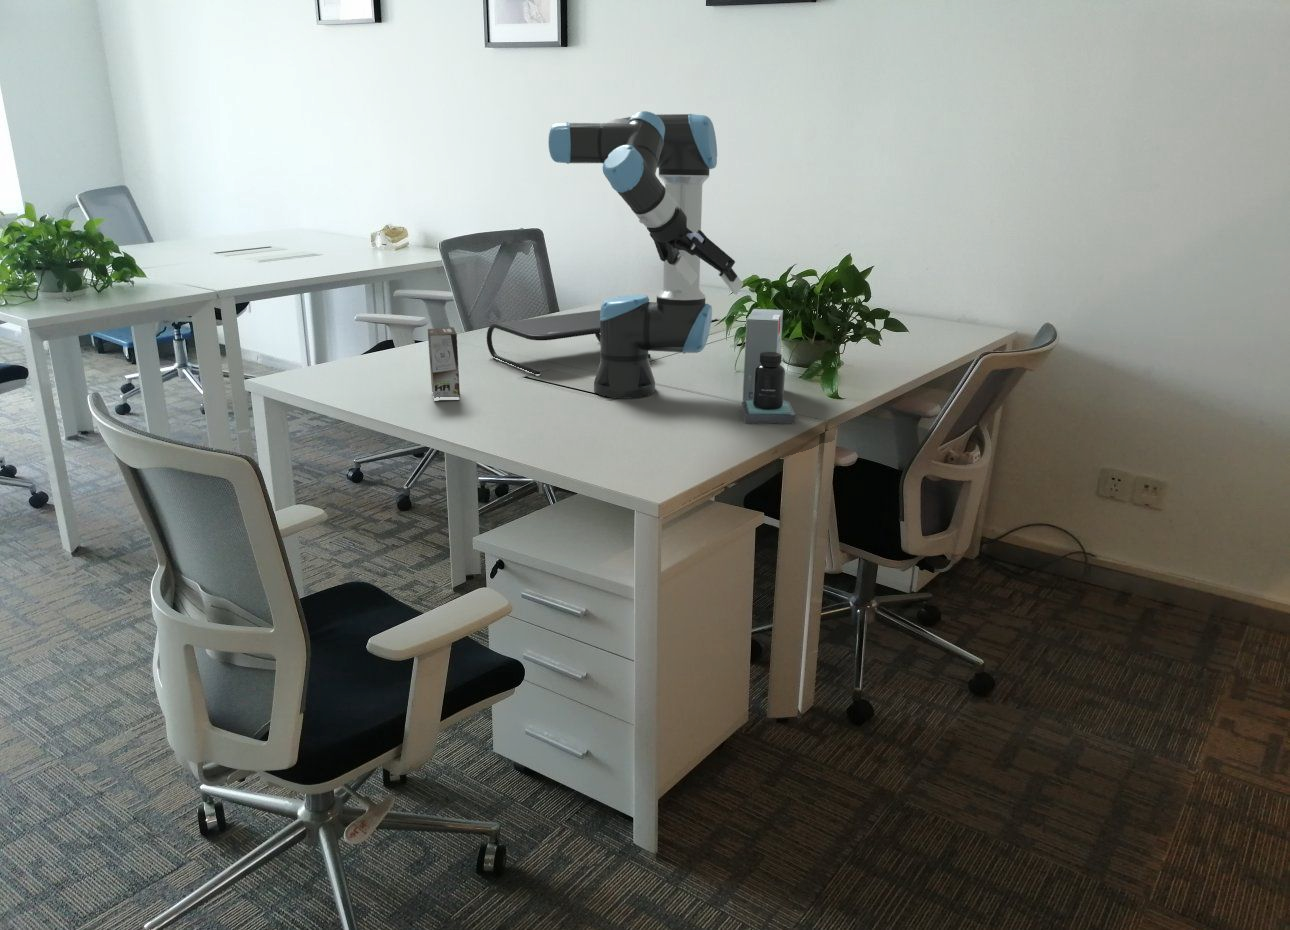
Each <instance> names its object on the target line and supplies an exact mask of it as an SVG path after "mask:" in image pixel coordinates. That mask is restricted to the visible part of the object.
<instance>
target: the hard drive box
mask: <svg viewBox="0 0 1290 930" xmlns="http://www.w3.org/2000/svg"><path fill="white" fill-rule="evenodd" d="M783 315H784V309H768V308H767V309H766V308H763V309H762V308H753V309H752V310H751V312H750V314H749V315H748V317H747V318H746V323H745V324H746V326H745V340H744V341H745V342H744V343H745V344H744V345H745V346H744V363H743V364H744V365H743V381H742V382H743V384H742V402H746V401H753V388H754V371H755V368H756V366H757V365H759V364H760V362H759V359H760V353H762V352H776V353H780V354H781V355H782V351H781V350H782V335H783Z"/></svg>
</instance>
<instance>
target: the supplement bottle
mask: <svg viewBox="0 0 1290 930" xmlns="http://www.w3.org/2000/svg"><path fill="white" fill-rule="evenodd" d="M759 362H760V364H759V365H757V366H756V368H755V371H754V388H753V405H754V406H755V407H757V408H760V409H770V410H771V409H779V408H781V407H782V405H783V401H784V391H785V379H786V378H785V377H786V370H785V368H784V367H783V366H782V353H781V354H780V353H776V352H762V353H760V359H759Z"/></svg>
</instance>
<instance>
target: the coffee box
mask: <svg viewBox="0 0 1290 930" xmlns="http://www.w3.org/2000/svg"><path fill="white" fill-rule="evenodd" d="M427 341H428V354H429V355H428V356H429V368H430V381H431V382H430V383H431V393H432V392H433V394H432V397H433V396H434V398H436V397H439V398H440V397H459V396H460V397H461V391H460V389H461V388H460V372H459V371H460V370H459V369H460V368H459V354H458V353H459V352H458V333H457V332H456V330H455V328H454V327H453V326H452V327H451V326H449V327H447V326H446V327H437V328H427ZM434 398H433V399H434Z"/></svg>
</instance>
